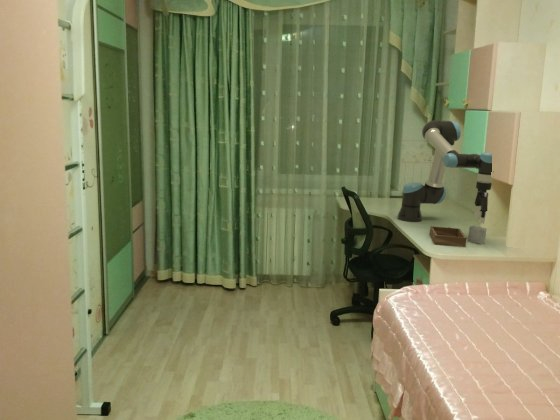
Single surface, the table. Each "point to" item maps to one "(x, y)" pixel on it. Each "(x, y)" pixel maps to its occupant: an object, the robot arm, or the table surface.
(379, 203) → the table surface
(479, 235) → the medicine box
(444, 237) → the walnut box
